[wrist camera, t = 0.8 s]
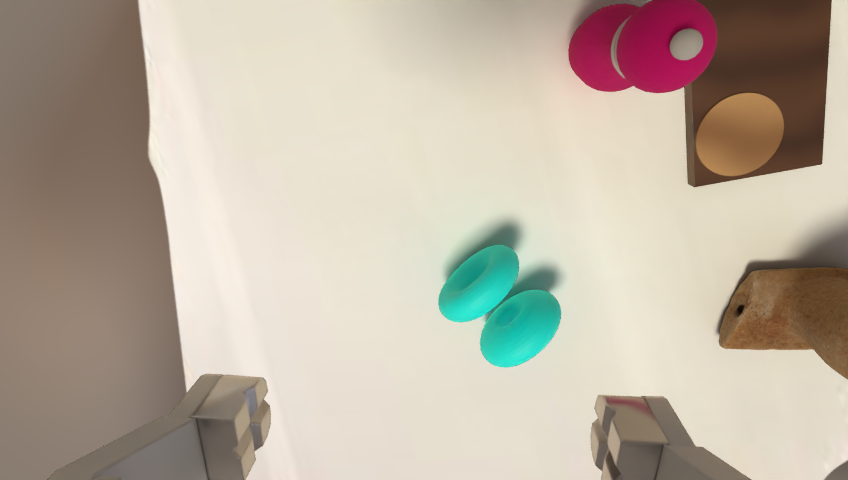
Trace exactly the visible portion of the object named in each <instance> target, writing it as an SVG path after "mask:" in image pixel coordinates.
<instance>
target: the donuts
mask: <svg viewBox="0 0 848 480" xmlns="http://www.w3.org/2000/svg"><path fill="white" fill-rule="evenodd" d="M518 271H519V260H518V257H517V255H516V253H515V252H514V251H513V250H512V249H511V248H510V247H508V246H505V245H492V246H489V247H486V248H484V249H482V250H480V251H478V252H477V253H475V254H474V255H472V256H471V257H470V258H468V259H467V260H466V261H465V262H464V263H462V264H461V265H460V266H459V267H458V268H457V269H456V270H455V271H454V272H453V274H452V275H451V276H450V277H449V278H448V280H447V281H446V283H445V284H444V286H443V288H442V290H441V292H440V295H439V303H438V304H439V309H440V311H441V313H442V314H443V315H444V316H445V317H446V318H447V319H449V320H451V321H454V322H467V321H471V320H474V319H476V318H479V317H481V316H483V315H484V314H486V313H488V312H489V311H491V310H492V309H493V308H494V307H496V306H497V305H498V304H499V303H500V302H501V301H502V300H503V299H504V298H505V297H506V295H507V294H508V293H509V291H510V290H511V288H512V287H513V285H514V283H515V281H516V279H517V276H518ZM560 319H561V309H560V305H559V303H558V301H557V299H556V298H555V297H554V296H553V295H552V294H550V293H549V292H546V291H544V290H537V289H535V290H527V291H523V292H521V293H518V294H516V295H514V296H512V297H511V298H509V299H507V300H506V301H505V302H503V303H502V304H501V305H500V306H499V307H498V308H497V309H496V310H495V311H494V312H493V313H492V315H491V316H490V317H489V319H488V320H487V322H486V324H485V326H484V328H483V330H482V334H481V339H480V346H481V351H482V354H483V356H484V357H485V359H486V360H487V361H488V362H489V363H491V364H493V365H495V366H498V367H513V366H516V365H519V364H522V363H524V362H526V361H528V360H529V359H531V358H533V357H534V356H535V355H537V354H538V353H539V352H540V351H541V350H542V349H543V348H544V347H545V346H546V345H547V344H548V343H549V342H550V340H551V339H552V338H553V336H554V335H555V333H556V331H557V329H558V326H559V323H560Z"/></svg>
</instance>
